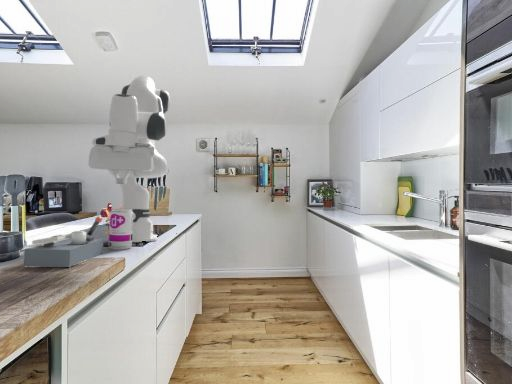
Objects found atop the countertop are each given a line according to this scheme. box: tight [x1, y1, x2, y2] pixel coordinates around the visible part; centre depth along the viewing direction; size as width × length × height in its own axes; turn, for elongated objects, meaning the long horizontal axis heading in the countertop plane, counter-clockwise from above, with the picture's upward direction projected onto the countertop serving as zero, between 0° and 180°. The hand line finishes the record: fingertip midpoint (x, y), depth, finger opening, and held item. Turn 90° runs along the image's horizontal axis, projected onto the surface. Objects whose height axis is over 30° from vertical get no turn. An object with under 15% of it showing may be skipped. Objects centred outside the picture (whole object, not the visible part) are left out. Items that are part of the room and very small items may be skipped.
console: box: [23, 236, 104, 267], centre depth 97 cm, size 22×12×6 cm, turn 4°
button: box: [70, 230, 87, 245], centre depth 97 cm, size 4×4×4 cm
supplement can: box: [108, 208, 133, 251], centre depth 120 cm, size 8×8×15 cm
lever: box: [86, 216, 103, 237], centre depth 103 cm, size 2×2×7 cm
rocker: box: [31, 234, 66, 245], centre depth 91 cm, size 4×7×1 cm, turn 94°
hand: (121, 183), depth 104 cm, fingers closed
